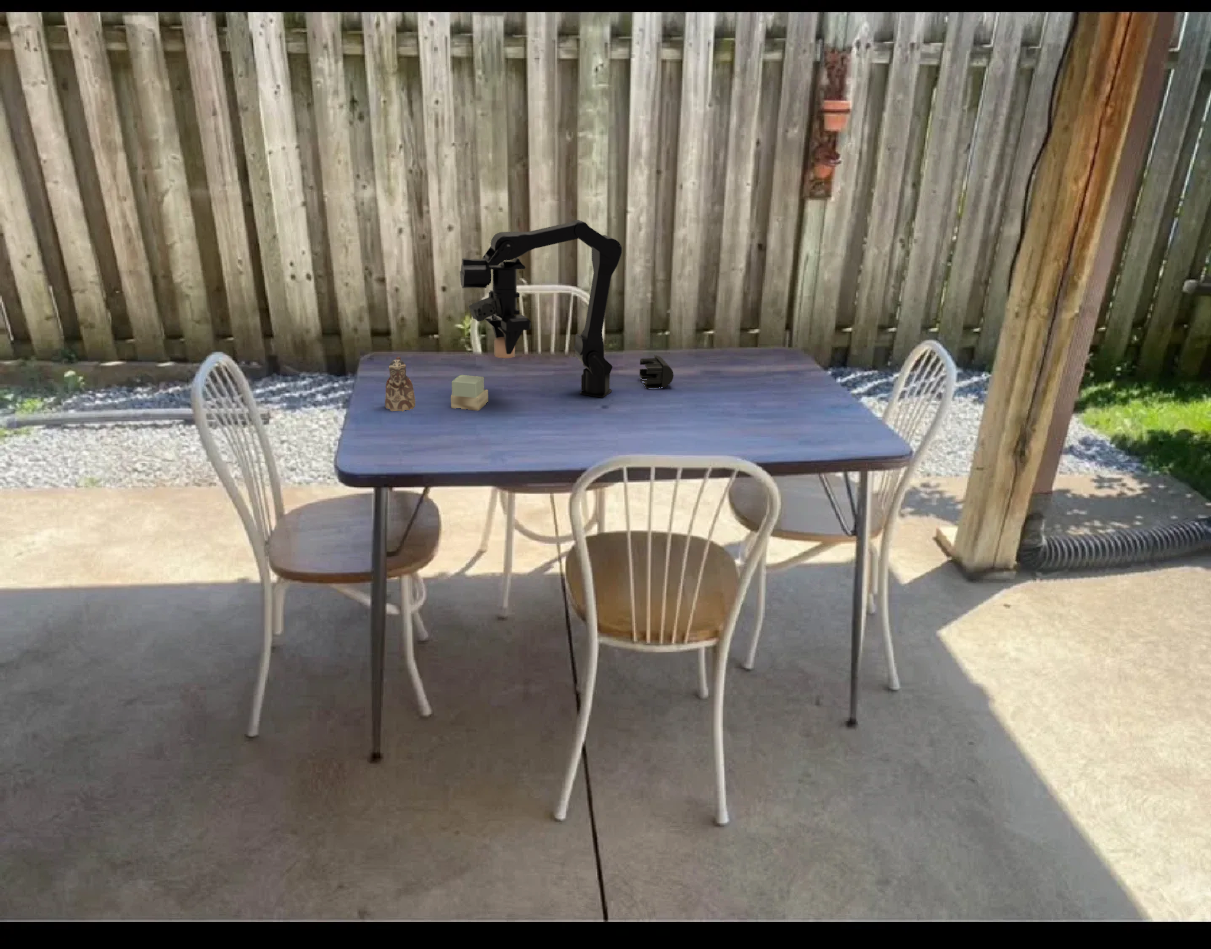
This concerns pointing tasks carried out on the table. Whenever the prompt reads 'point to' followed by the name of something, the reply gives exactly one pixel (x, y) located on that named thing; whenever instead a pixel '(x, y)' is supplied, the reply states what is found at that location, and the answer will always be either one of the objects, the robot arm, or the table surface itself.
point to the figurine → (399, 388)
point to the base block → (470, 401)
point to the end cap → (656, 372)
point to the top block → (467, 386)
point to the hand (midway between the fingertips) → (504, 351)
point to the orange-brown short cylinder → (501, 349)
